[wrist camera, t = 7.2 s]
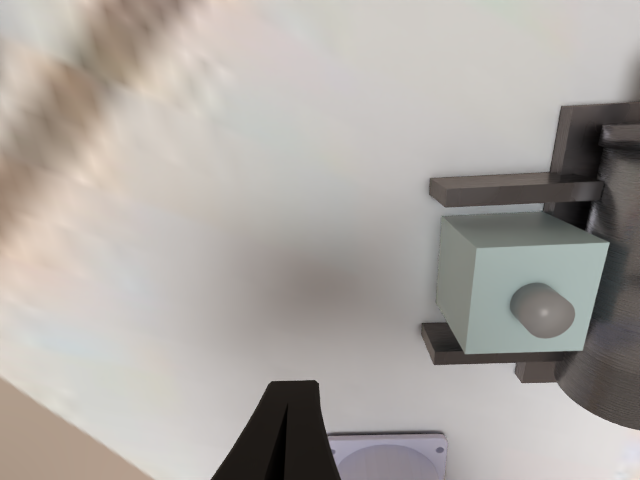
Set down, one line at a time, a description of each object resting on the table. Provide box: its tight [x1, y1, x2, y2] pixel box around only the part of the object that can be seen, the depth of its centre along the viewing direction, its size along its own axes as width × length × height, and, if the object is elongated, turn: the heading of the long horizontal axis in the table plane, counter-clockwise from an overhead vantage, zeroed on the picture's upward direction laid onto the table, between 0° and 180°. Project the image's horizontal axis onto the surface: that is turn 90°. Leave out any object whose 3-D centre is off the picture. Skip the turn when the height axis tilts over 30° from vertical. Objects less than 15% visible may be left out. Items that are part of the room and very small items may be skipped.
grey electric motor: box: [422, 102, 640, 430], centre depth 15 cm, size 17×12×6 cm
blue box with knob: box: [436, 211, 610, 354], centre depth 16 cm, size 5×5×6 cm
